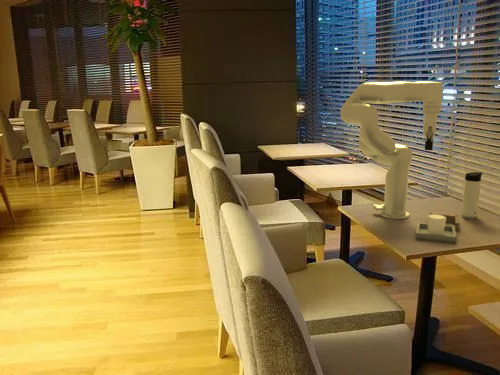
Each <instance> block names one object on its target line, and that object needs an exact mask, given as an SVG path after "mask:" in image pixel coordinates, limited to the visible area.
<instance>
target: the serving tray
mask: <svg viewBox="0 0 500 375" xmlns="http://www.w3.org/2000/svg"><path fill="white" fill-rule="evenodd" d="M415 240H419V241H428V242H429V241H430V242H437V243H438V242H439V243H447V244H448V243H449V244H457V243H456V242H457V233H456V230H455V225H447V224H445V228H444V233H443V235H439V234H429V233H428V222H426V223H425V222H417V224H416V231H415Z"/></svg>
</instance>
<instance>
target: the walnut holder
mask: <svg viewBox="0 0 500 375" xmlns="http://www.w3.org/2000/svg"><path fill="white" fill-rule="evenodd" d="M431 214H435V213H432V212H429V213H428V215H431ZM436 214H437V215H443V216H445V217H446V223H451V224H454V226H455V231H459V229H460V220H459V215H457V214H456V215H455V214H445V213H436Z"/></svg>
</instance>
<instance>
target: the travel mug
mask: <svg viewBox="0 0 500 375" xmlns="http://www.w3.org/2000/svg"><path fill="white" fill-rule="evenodd" d="M482 175H483V172H476V171H473V172H467V173H465V178H464V185H463V195H462V206H461V218H464V219H466V220H476V219H477V218H478V212H479V202H480V201H479V200H480V194H481V184H482Z"/></svg>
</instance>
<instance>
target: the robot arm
mask: <svg viewBox="0 0 500 375" xmlns="http://www.w3.org/2000/svg"><path fill="white" fill-rule="evenodd" d="M442 96H443V83H442V82H439V81H414V82H412V81H391V82H390V81H388V82H386V81H385V82H363V83H361V84H360V85H359V86H358V87H357V88H356V89H355V90H354V91H353V92H352V93H351V95H350V96H349V97H348V99H347V100H346V101H345V102H344V103H343V105H342V107H341V109H340V113H339V114H340V118H341V120H342V121H343V122H345V123H347V124H352V125H360V134H359V140H358V146H359V149H360V151H361V152H362V154H364V155H365V156H367V157H368V158H369V159H371V160H372V161H375V162H376V163H378V164H381V165H386V166H389V169H387V171H386V174H385V180H384V183H385V184H384V196H383V197H384V198H383V199H384V201H383V204H381V205H379V204H373V210H376V211H379V215H380V216H381V217H383V218H387V219H390V220H405V219H408V218H410V212H408V211H407V201H408V190H409V189H408V188H409V175H410V169H411V168H410V167H411V164H412V160H413V151H412V149H411V148H410V147H409V146H406V145H403V144H397V143H396V142H395V140H394V138H392V137H391V136H390V135H389V134H387V133H386V132H384V130H381V129H380V127H379V111H378V109H377V108H376V106H374V105H373V104H375V105H384V104H394V103H395V104H396V103H397V104H398V103H411V102H412V103H413V102H422V113H421V114H423V115H424V117H423V130H422V136H423V137H425V141H424V150H425V151H433V146H434V137H435V135H436V132H437V130H436V129H437V124H438V123H437V121H438V115H441V110H442V99H443V98H442Z"/></svg>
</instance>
